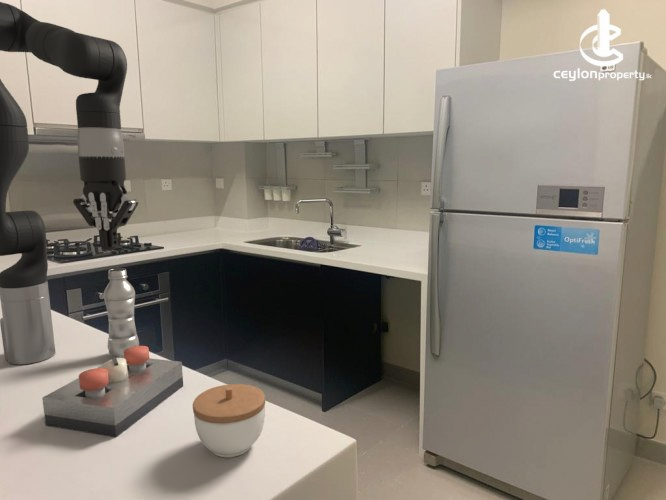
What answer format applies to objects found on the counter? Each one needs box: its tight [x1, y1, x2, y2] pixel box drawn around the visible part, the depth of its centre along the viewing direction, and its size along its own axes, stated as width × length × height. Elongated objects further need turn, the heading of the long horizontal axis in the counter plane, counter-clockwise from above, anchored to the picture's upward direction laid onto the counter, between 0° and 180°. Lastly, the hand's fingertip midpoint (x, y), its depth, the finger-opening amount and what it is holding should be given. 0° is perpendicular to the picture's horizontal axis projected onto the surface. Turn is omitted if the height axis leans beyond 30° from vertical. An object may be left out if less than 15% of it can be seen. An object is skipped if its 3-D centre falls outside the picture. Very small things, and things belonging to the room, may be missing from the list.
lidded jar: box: [192, 383, 266, 458], centre depth 74 cm, size 11×11×9 cm
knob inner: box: [124, 345, 150, 372], centre depth 93 cm, size 4×4×6 cm
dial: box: [103, 357, 128, 383], centre depth 87 cm, size 4×4×4 cm
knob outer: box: [78, 367, 109, 399], centre depth 82 cm, size 4×4×6 cm
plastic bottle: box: [103, 268, 140, 358], centre depth 110 cm, size 6×7×20 cm
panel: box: [42, 355, 184, 438], centre depth 88 cm, size 14×19×5 cm
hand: (109, 249), depth 91 cm, fingers closed
